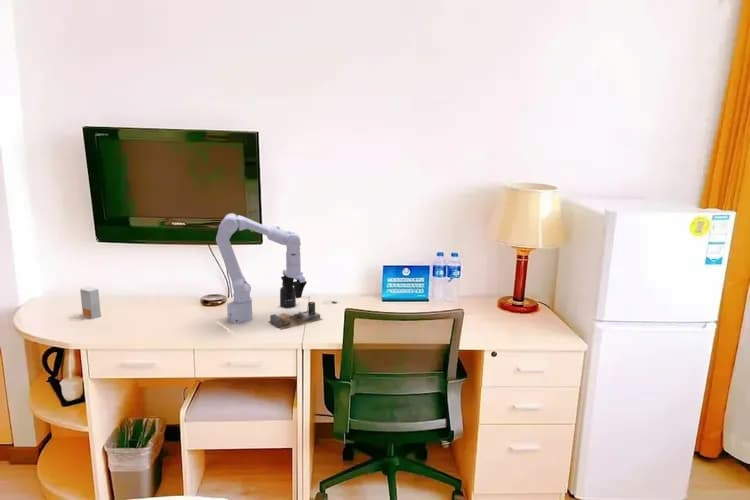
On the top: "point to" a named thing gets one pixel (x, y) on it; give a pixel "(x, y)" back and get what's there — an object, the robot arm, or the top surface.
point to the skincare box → (90, 302)
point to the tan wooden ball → (284, 318)
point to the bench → (293, 320)
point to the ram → (310, 311)
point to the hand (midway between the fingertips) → (293, 295)
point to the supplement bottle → (287, 297)
